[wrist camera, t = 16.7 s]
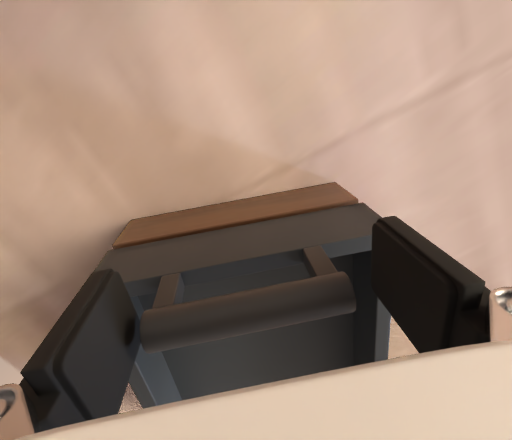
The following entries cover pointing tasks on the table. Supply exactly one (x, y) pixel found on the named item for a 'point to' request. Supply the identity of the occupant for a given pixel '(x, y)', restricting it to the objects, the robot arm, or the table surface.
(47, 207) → the table surface
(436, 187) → the table surface
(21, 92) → the table surface
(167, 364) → the tray
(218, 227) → the stand
